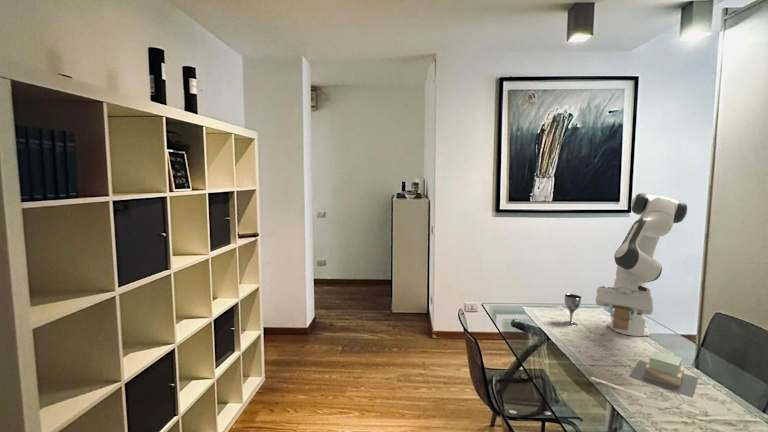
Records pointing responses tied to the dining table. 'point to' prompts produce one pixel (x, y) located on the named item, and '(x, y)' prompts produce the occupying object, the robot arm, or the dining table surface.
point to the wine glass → (572, 306)
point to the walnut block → (621, 318)
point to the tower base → (664, 376)
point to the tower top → (665, 362)
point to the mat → (685, 387)
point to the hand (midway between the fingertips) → (621, 317)
